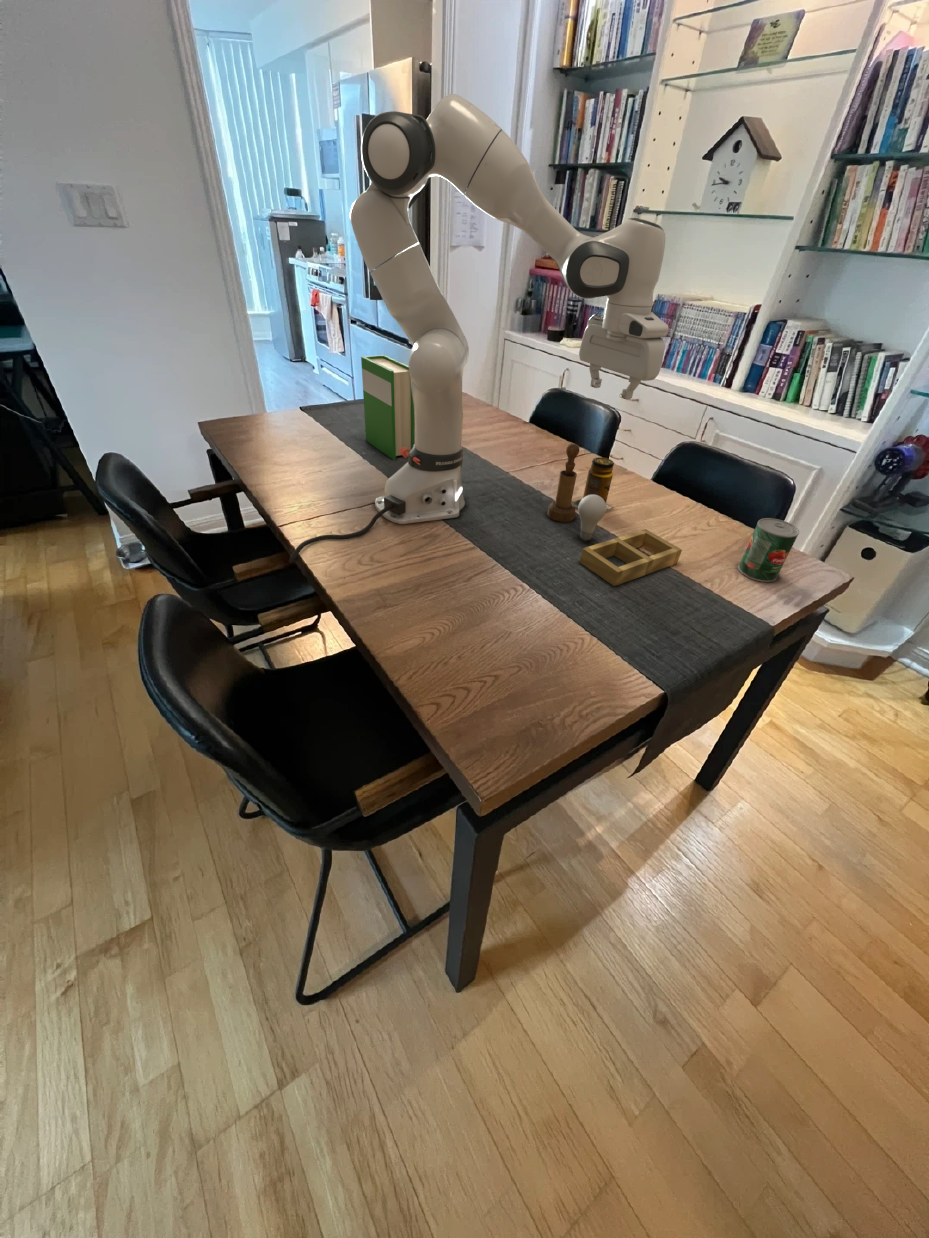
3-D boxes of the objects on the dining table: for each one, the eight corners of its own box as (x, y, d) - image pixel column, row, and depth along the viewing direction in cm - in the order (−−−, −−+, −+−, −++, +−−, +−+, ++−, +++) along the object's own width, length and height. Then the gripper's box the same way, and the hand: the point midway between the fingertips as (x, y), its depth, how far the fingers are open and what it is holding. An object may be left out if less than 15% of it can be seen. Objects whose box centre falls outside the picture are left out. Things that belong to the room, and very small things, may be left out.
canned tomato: (774, 586, 110) (797, 540, 104) (735, 574, 113) (755, 528, 107) (778, 570, 116) (801, 525, 109) (741, 558, 119) (760, 514, 112)
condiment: (612, 508, 136) (623, 463, 129) (588, 515, 132) (598, 469, 125) (592, 497, 141) (602, 453, 133) (568, 503, 137) (577, 458, 129)
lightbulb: (569, 543, 120) (578, 498, 113) (574, 531, 125) (583, 487, 118) (595, 549, 118) (606, 504, 112) (600, 537, 123) (611, 493, 116)
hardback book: (415, 455, 157) (414, 368, 142) (393, 459, 153) (390, 371, 139) (387, 437, 168) (384, 354, 153) (366, 440, 165) (361, 356, 150)
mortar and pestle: (576, 513, 132) (590, 442, 121) (571, 524, 127) (586, 451, 116) (550, 508, 134) (562, 437, 123) (544, 519, 129) (556, 446, 118)
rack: (614, 586, 107) (618, 572, 105) (579, 562, 114) (582, 548, 111) (677, 563, 116) (682, 549, 113) (641, 542, 122) (645, 528, 120)
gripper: (579, 312, 111) (567, 382, 120) (653, 330, 98) (634, 407, 106) (600, 311, 114) (588, 379, 122) (675, 329, 101) (655, 404, 109)
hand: (610, 392), depth 114 cm, fingers open, 8 cm apart
